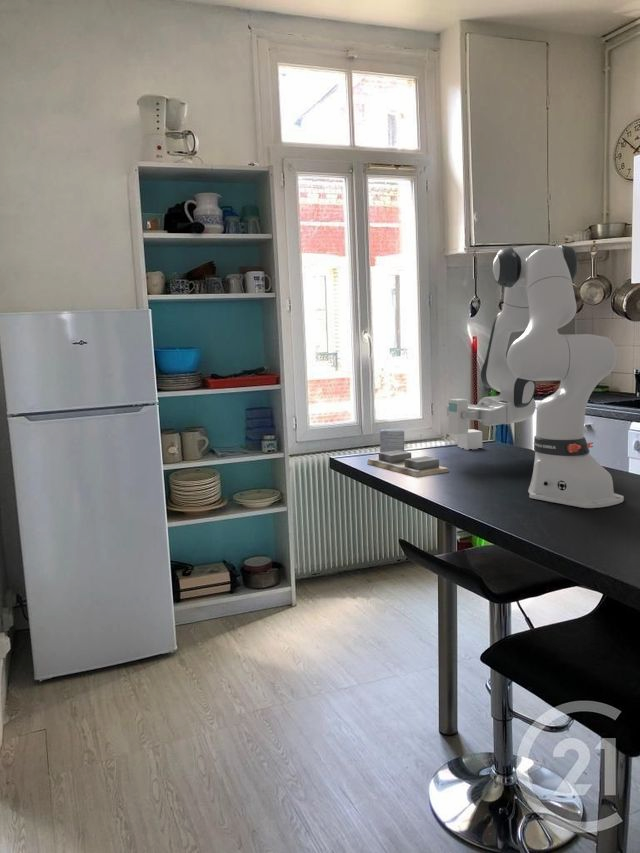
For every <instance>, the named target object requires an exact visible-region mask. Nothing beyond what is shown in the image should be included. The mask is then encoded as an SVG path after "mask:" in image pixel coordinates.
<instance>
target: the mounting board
mask: <svg viewBox="0 0 640 853" xmlns="http://www.w3.org/2000/svg"><path fill="white" fill-rule="evenodd" d="M367 465H370V466H375V467H378V468H381V469H384V470H389V471H392V472H396V473H401V474H404V475H406V476H407V475H408V476H411V477H415V478H417V477H424V476H430V475H436V474H443V473H448V472H450V468H449V467H445V466H441V465H440V458H436V457H431V456H427V455H426V456H425V455H424V456H417V457H412V452H410V451H405V450H404V451H401V450H397V451H389V452H382V453H380V452H378V458H377V459H376V458H367Z"/></svg>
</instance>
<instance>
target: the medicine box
mask: <svg viewBox="0 0 640 853" xmlns="http://www.w3.org/2000/svg"><path fill="white" fill-rule="evenodd" d="M397 450H401V451H405V430H404V428H387V429H385V428H383V429H380V430H379V451H380V452H379V453H382V452H389V451H397Z"/></svg>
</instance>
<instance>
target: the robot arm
mask: <svg viewBox="0 0 640 853" xmlns="http://www.w3.org/2000/svg"><path fill="white" fill-rule="evenodd" d="M578 268H579V261H578V255H577V253H576V251H575V249H574V248H573V247H571V246H569V245H562V244H559V245H557V246H556V245H537V244H531V245H524V246H522V245H521V246H517V247H511V246H510V247H505V248H502V249H500V250H499V251H498V252H497V253H496V254H495V256H494V259H493V264H492V274H493V276H494V280H495V282H496V284H498V285H499V286H500V287H504V288H505V289H504V296H503V305H502V309H501V311H500V312H498V313H497V315H496V316H495V318H494V319H493V320H494V321H493V324H492V327H491V332H490V337H489V342H488V345H487V346H488V347H487V350H486V354H485V359H484V361H483V364H482V367H481V370H480V379H481V382H482V384H483V385H484V386H485V387H486V388H489V389H491V390H494V391H497V392H499V395H493V396H485V397H482V398H481V399H480V400H479V401H478V403H477V404H470V403H468V412H461V418H464V419H467V418H468V420H471V421H472V420H473V421H479V422H480V424H482V425H483V426H486V427H491V426H492V427H493V426H498V425H510V424H514V423H515V424H516V423H520V422H523V421H527V420H528V419H530V418H531V417H532V416H533V415H534V413H535V411H536V422H535V425H536V427H535V436H534V438H533V451H534V462H533V469H532V470H533V471H532V474H531V480H530V483H529V484H530V485H529V487H528V490H527V492H528V494H529V496H528V497H529V499H535V500H538V501H539V500H540V501H545V502H549V503H556V504H562V505H566V506H572V507H578V508H584V509H595V508H597V509H598V508H605V507H611V506H615V505H619V504H621V503H623V502H624V500H625V499H624V495H621V494H618V493H616V492H614V481H613V477H612V474H611V472H609V471H608V470H606V468H604V467H603V465H601V464H600V463H599V462H598V461H597V460H596V459H595V458H594V457H593V456H592V455H591V454H590V448H594V446H593V444H594V442H587V440H586V437H584V434H585V432H584V431H585V419H586V409H587V404H588V402H589V399H590V396H591V395H592V393H593V392H594V389H596V387H597V385H599V383H600V382H602V380H603V379H605V378H606V377H608V376H609V375H610V374H611V373H612V372H613V370H615V367H616V364H617V361H618V352H617V348H616V345H615V344H614V343H613V341H612V340H611V339H610V338H609V337H607V336H603V335H596V334H589V333H584V334H583V333H582V334H581V333H579V334H575V333H574V334H560V333H559V331H558V330H559V329H561V328H563V327H564V326H566V325H567V324H569V323H570V322H571V321H572V320H573V319H574V318H575V316H576V313H577V308H578V306H577V301H576V296H575V291H574V285H573V280H574V279H575V278H576V275H577V272H578ZM518 332H519V333H520V332H523V333H522V334H521V335H520V336H519V337H518V338H516V339H514V341H513V342H512V343H511V345H510V346H509V343H510V342H509V341H510V339H511V334H512V333H518ZM508 346H509V348H508ZM537 381H538V382H539V381H540V382H541V381H542V382H543V381H544V382H545V381H560V383H559V386H558V388H557V389H556V391H555V392H554V393H552V394H550V395H548V396H546V397H544V398H543V399H542V400H541V401H540V402H539V404H538V405H537V404H536V400H535V398H534V396H535V395H536V394H535V393H536V387H537ZM536 405H537V407H536ZM446 417H448V418H449V404H448V405H447V406H446Z"/></svg>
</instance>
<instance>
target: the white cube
mask: <svg viewBox="0 0 640 853" xmlns="http://www.w3.org/2000/svg"><path fill="white" fill-rule="evenodd" d="M458 447H460V448H459V449H462V448H464V449H463V450H465V451H469V449H472V450H479V449H478V448H482V449H483V431H481V430H478V429H473V428H472V429H469V428H468V433H466V434H457V448H458Z"/></svg>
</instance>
